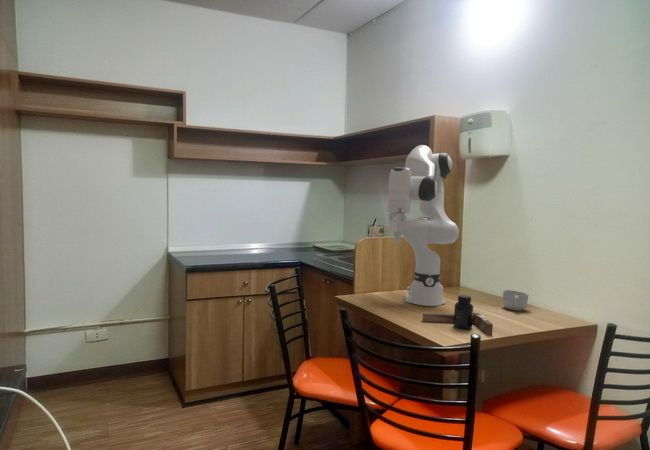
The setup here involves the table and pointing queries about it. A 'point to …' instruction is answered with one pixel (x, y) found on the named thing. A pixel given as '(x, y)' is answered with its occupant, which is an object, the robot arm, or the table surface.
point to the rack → (449, 318)
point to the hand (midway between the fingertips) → (397, 242)
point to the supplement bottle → (463, 313)
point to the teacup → (514, 300)
